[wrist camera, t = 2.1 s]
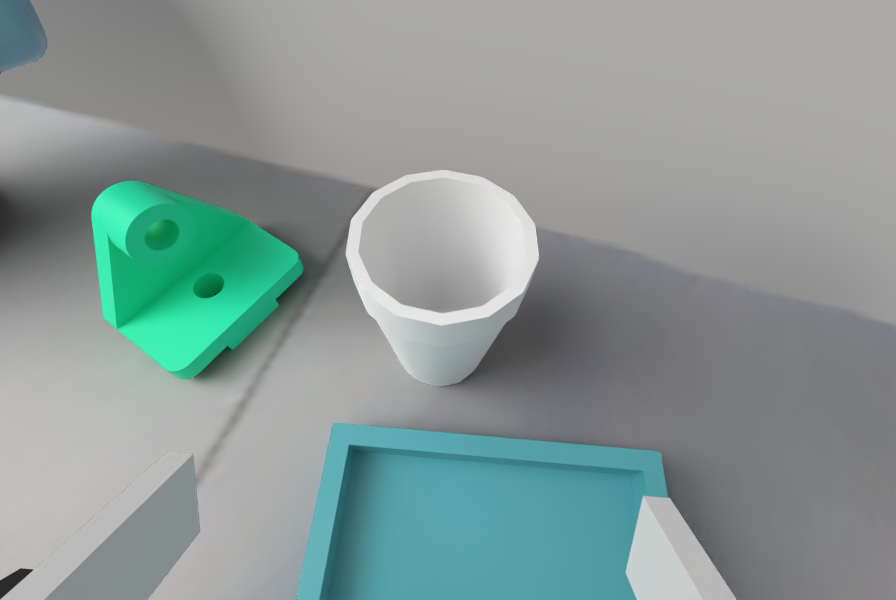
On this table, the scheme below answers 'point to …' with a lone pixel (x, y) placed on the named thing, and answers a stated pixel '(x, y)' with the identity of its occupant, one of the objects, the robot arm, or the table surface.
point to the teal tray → (473, 517)
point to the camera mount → (184, 273)
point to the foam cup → (441, 268)
